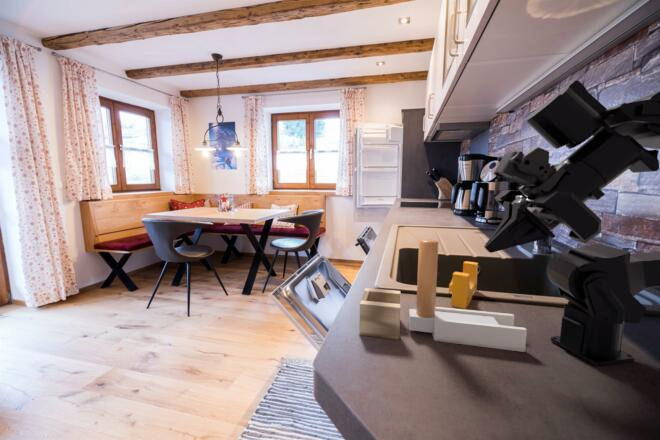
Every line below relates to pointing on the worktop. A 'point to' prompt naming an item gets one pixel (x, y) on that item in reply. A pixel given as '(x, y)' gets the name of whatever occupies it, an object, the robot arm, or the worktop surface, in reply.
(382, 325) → the socket
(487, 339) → the sleeve
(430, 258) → the slide bolt
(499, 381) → the worktop surface
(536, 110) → the robot arm
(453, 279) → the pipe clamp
